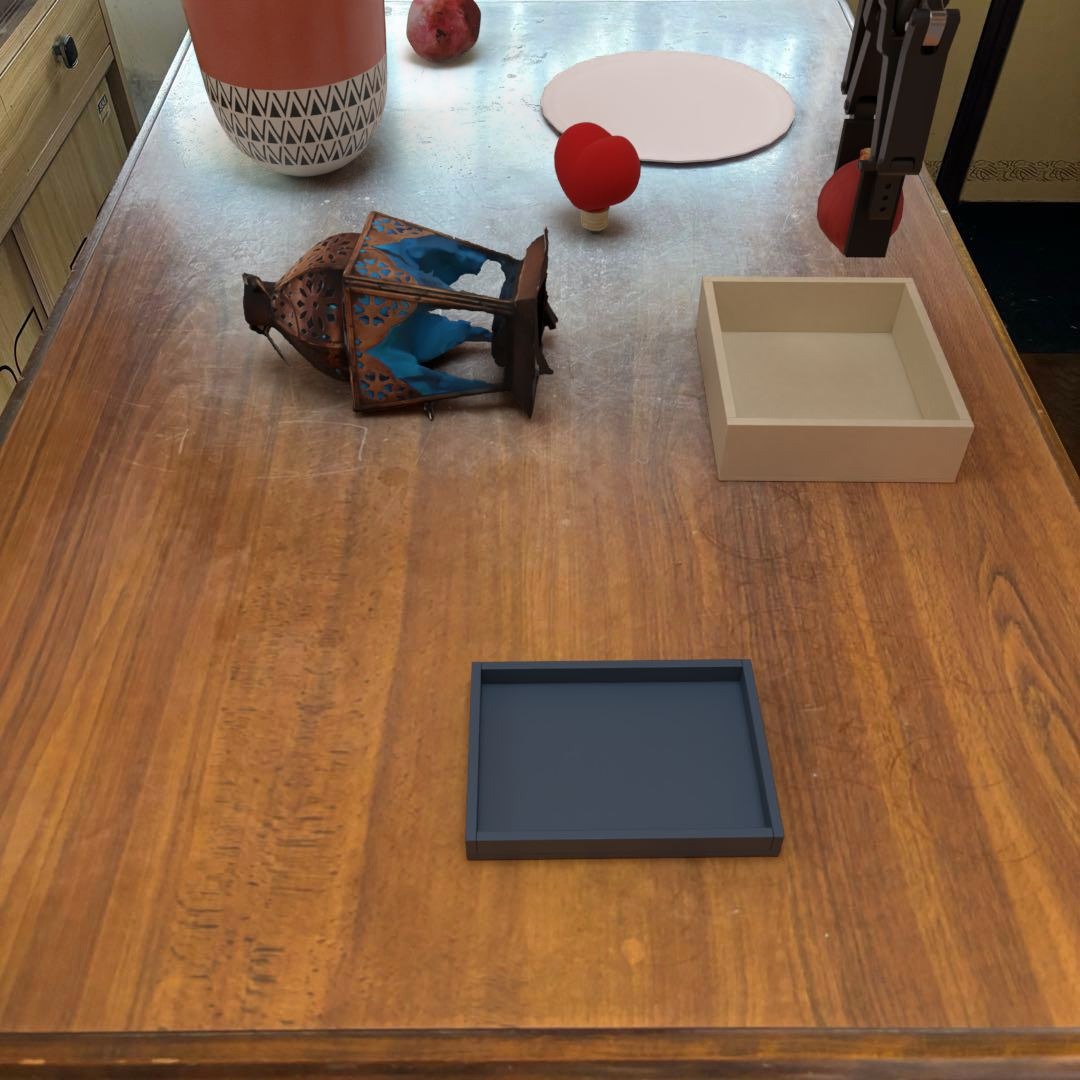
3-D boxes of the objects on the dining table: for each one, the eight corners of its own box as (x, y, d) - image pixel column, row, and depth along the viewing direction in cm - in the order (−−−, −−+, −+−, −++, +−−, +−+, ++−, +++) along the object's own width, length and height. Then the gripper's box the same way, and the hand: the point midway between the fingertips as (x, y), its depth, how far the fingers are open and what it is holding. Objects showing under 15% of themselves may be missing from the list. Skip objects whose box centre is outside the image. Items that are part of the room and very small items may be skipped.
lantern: (549, 431, 96) (263, 410, 96) (563, 243, 95) (273, 221, 95) (552, 427, 80) (207, 402, 80) (568, 199, 79) (218, 173, 78)
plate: (733, 194, 113) (735, 183, 112) (492, 130, 123) (492, 119, 123) (830, 90, 131) (832, 80, 130) (612, 41, 141) (612, 31, 140)
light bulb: (535, 225, 109) (535, 127, 102) (586, 201, 112) (589, 105, 105) (602, 262, 104) (607, 162, 97) (653, 236, 107) (661, 137, 100)
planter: (180, 188, 114) (125, -34, 99) (277, 111, 127) (241, -96, 111) (348, 223, 109) (317, -6, 94) (431, 139, 122) (416, -74, 107)
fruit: (494, 49, 140) (492, -36, 132) (460, 77, 133) (456, -10, 126) (431, 37, 142) (425, -46, 135) (394, 65, 136) (386, -22, 129)
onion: (872, 231, 82) (897, 126, 76) (903, 272, 78) (932, 164, 72) (797, 238, 81) (817, 133, 76) (825, 279, 77) (847, 171, 72)
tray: (746, 679, 69) (751, 658, 68) (779, 856, 61) (785, 836, 59) (473, 682, 69) (471, 661, 68) (466, 860, 61) (464, 840, 59)
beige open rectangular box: (954, 482, 82) (974, 426, 78) (718, 480, 82) (727, 424, 79) (897, 331, 96) (912, 277, 92) (695, 329, 96) (702, 275, 92)
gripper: (840, -184, 69) (782, 168, 85) (909, -95, 55) (825, 303, 72) (961, -184, 69) (880, 169, 85) (1059, -95, 55) (941, 304, 71)
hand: (855, 230), depth 78 cm, fingers closed on onion, 6 cm apart
